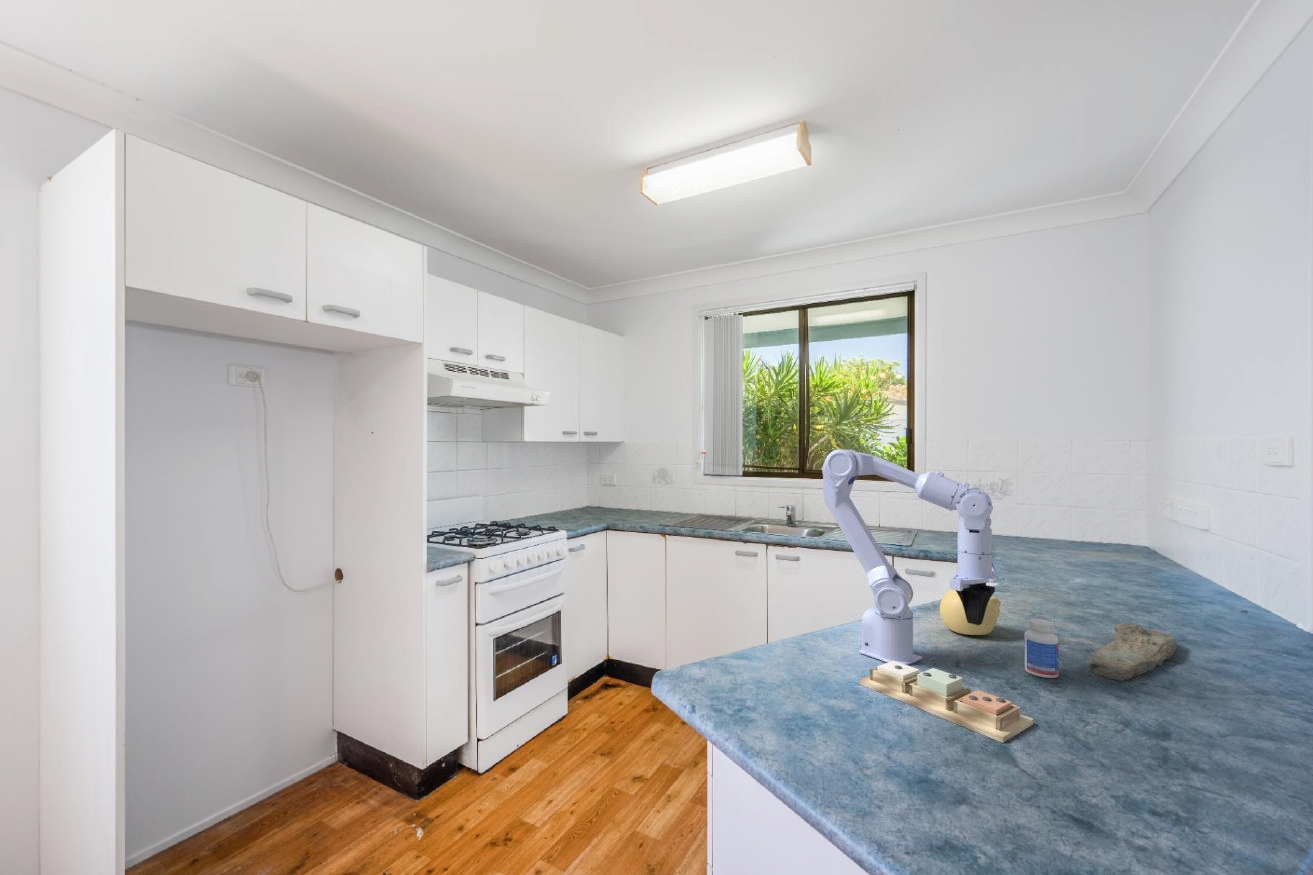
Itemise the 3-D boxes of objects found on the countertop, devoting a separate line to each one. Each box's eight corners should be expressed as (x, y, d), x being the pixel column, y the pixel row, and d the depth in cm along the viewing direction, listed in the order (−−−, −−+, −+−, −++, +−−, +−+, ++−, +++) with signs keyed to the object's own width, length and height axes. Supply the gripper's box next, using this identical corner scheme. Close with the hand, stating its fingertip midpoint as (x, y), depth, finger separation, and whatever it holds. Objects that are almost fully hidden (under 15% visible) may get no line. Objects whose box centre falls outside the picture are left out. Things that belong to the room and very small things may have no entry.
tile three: (962, 712, 87) (962, 696, 87) (978, 704, 90) (978, 688, 90) (996, 726, 83) (996, 708, 83) (1011, 717, 86) (1011, 700, 86)
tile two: (917, 688, 93) (917, 672, 93) (933, 681, 96) (933, 666, 96) (946, 699, 89) (946, 683, 89) (962, 692, 92) (962, 676, 92)
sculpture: (1007, 635, 128) (1007, 588, 128) (978, 643, 121) (978, 594, 122) (958, 621, 137) (958, 578, 138) (929, 629, 131) (929, 583, 132)
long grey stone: (1072, 676, 108) (1137, 698, 100) (1073, 650, 108) (1138, 670, 100) (1129, 634, 128) (1187, 649, 120) (1130, 612, 128) (1188, 625, 120)
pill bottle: (1064, 680, 102) (1064, 627, 103) (1032, 677, 103) (1032, 625, 104) (1050, 668, 108) (1049, 618, 108) (1019, 666, 109) (1019, 616, 109)
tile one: (877, 679, 99) (877, 664, 100) (893, 673, 102) (893, 659, 102) (903, 689, 95) (903, 674, 95) (919, 683, 98) (919, 668, 98)
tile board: (859, 683, 100) (859, 669, 100) (891, 671, 105) (891, 657, 105) (1002, 742, 80) (1002, 724, 80) (1033, 724, 86) (1033, 707, 86)
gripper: (977, 559, 98) (977, 636, 98) (1014, 551, 107) (1015, 622, 106) (938, 552, 104) (938, 625, 104) (976, 546, 112) (976, 613, 112)
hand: (974, 623), depth 105 cm, fingers closed
